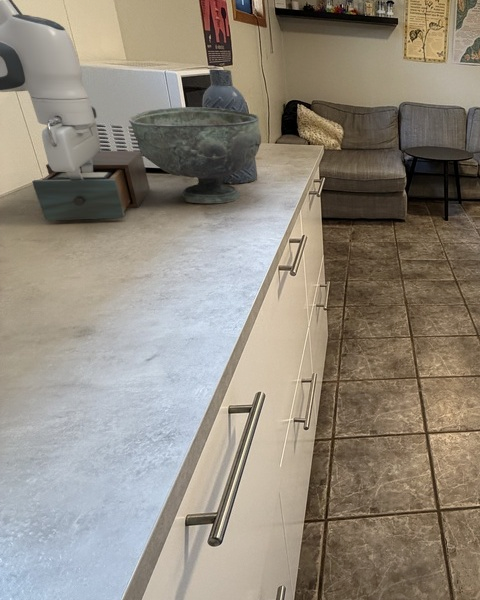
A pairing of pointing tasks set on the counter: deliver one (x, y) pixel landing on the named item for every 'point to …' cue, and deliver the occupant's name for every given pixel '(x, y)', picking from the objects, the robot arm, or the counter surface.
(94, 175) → the dark grey block
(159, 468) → the counter surface
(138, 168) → the cabinet
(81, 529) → the counter surface
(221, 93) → the vase
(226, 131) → the decorative bowl
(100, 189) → the drawer
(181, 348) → the counter surface
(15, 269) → the counter surface
